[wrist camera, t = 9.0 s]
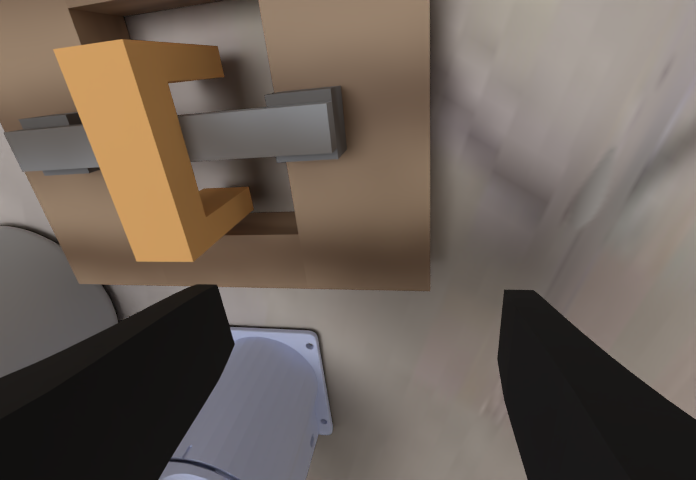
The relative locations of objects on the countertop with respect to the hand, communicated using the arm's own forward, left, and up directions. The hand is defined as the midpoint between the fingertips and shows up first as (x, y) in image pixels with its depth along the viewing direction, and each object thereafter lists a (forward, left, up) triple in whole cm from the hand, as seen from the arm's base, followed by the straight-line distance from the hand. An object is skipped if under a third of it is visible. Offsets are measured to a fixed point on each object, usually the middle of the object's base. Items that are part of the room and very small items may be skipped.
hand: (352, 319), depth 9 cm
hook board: (+4, +8, -10) cm, 14 cm away
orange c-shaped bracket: (+3, +8, -9) cm, 12 cm away
